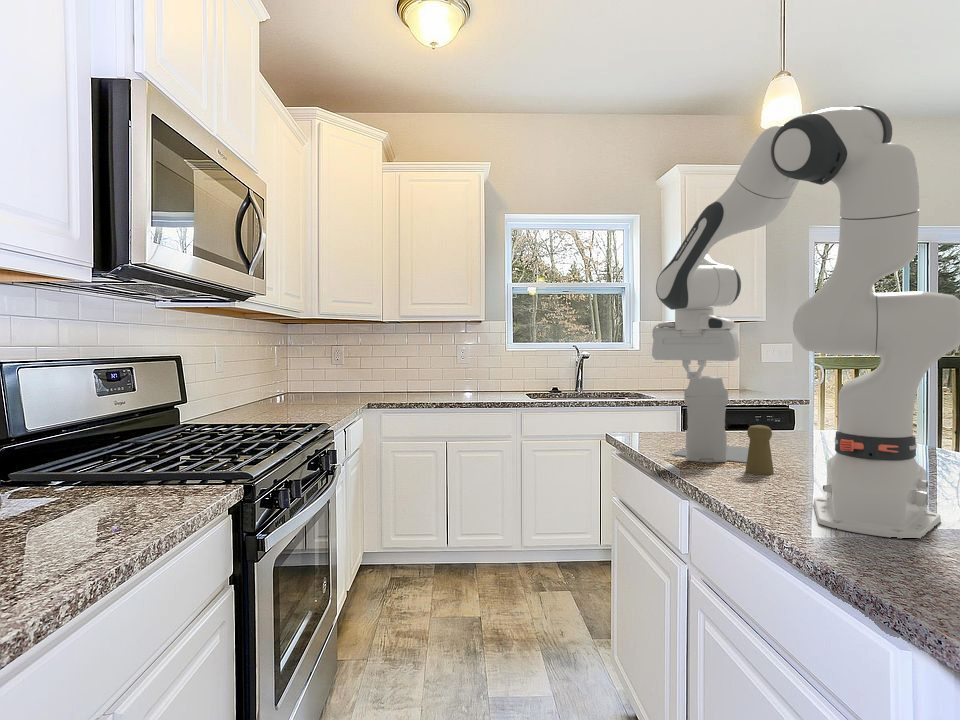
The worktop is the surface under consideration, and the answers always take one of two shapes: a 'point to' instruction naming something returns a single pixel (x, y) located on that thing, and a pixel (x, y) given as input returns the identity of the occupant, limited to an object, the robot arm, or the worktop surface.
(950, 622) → the worktop surface
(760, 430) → the cork
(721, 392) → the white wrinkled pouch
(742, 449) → the mat
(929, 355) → the robot arm
